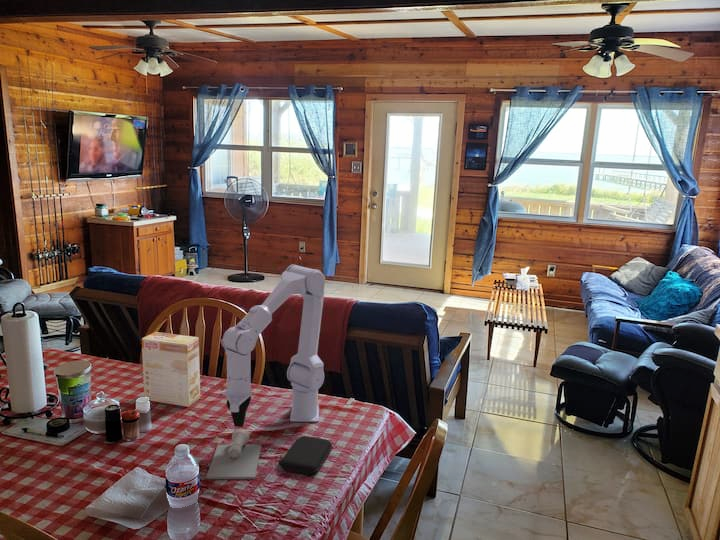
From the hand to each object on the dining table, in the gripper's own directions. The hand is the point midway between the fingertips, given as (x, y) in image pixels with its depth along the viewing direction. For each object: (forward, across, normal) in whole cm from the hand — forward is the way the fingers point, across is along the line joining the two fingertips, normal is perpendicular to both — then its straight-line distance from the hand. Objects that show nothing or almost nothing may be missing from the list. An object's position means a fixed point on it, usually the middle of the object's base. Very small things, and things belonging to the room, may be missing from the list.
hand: (239, 425), depth 137 cm
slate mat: (+6, +6, 0) cm, 9 cm away
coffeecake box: (+6, -27, -24) cm, 37 cm away
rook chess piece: (+3, -2, 0) cm, 4 cm away
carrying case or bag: (+7, +5, +17) cm, 19 cm away
